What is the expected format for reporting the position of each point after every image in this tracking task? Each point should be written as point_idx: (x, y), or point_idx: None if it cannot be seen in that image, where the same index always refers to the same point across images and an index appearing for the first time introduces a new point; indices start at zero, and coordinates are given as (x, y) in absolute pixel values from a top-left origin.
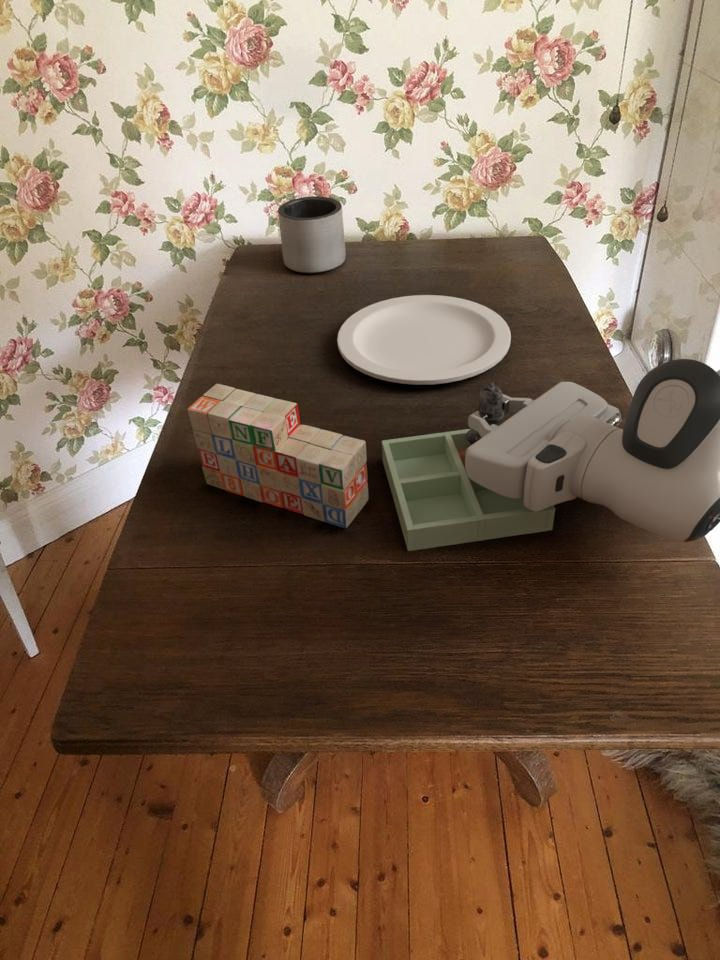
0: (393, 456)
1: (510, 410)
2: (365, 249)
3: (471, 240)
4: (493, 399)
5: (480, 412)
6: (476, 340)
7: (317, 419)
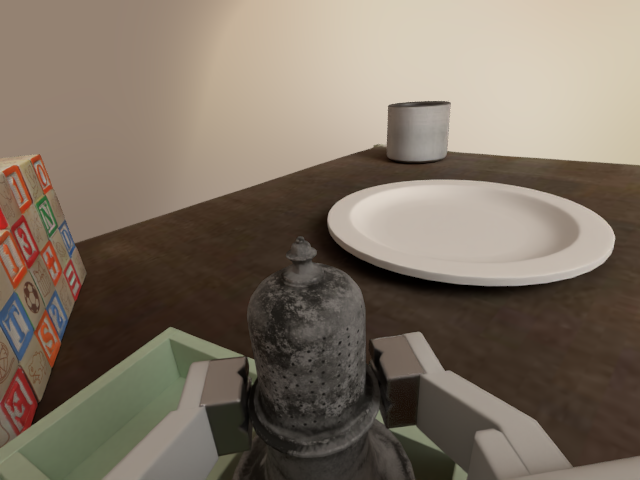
0: (184, 371)
1: (424, 425)
2: (471, 157)
3: (602, 164)
4: (268, 333)
5: (238, 369)
6: (540, 242)
7: (221, 267)
